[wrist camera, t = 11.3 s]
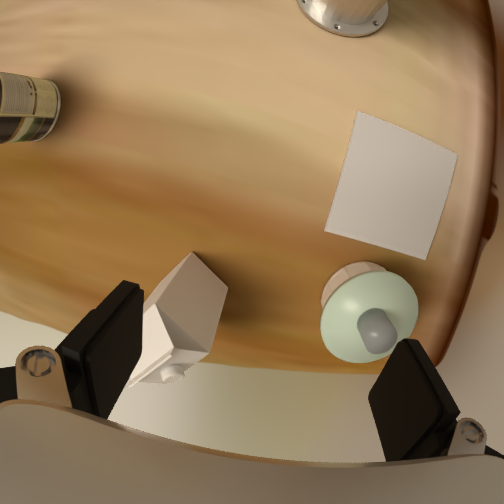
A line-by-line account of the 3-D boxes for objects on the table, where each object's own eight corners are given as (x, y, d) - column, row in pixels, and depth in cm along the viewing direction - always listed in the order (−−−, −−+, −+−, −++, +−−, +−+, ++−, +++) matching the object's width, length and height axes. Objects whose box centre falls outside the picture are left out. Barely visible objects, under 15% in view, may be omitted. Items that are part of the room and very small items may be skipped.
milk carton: (159, 281, 42) (99, 363, 24) (192, 250, 41) (138, 326, 23) (195, 315, 44) (156, 409, 26) (229, 287, 42) (202, 381, 24)
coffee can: (48, 150, 37) (-19, 158, 23) (12, 131, 36) (-49, 137, 22) (71, 86, 34) (6, 74, 20) (32, 74, 32) (-29, 64, 19)
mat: (356, 111, 33) (357, 110, 33) (455, 154, 34) (457, 154, 33) (324, 229, 39) (324, 231, 38) (423, 259, 39) (425, 260, 39)
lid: (340, 258, 34) (351, 276, 29) (430, 282, 34) (448, 299, 29) (306, 350, 38) (309, 375, 33) (390, 363, 38) (401, 386, 33)
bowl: (335, 252, 40) (346, 269, 34) (404, 270, 40) (421, 288, 34) (310, 322, 43) (315, 346, 37) (375, 334, 43) (387, 357, 38)
